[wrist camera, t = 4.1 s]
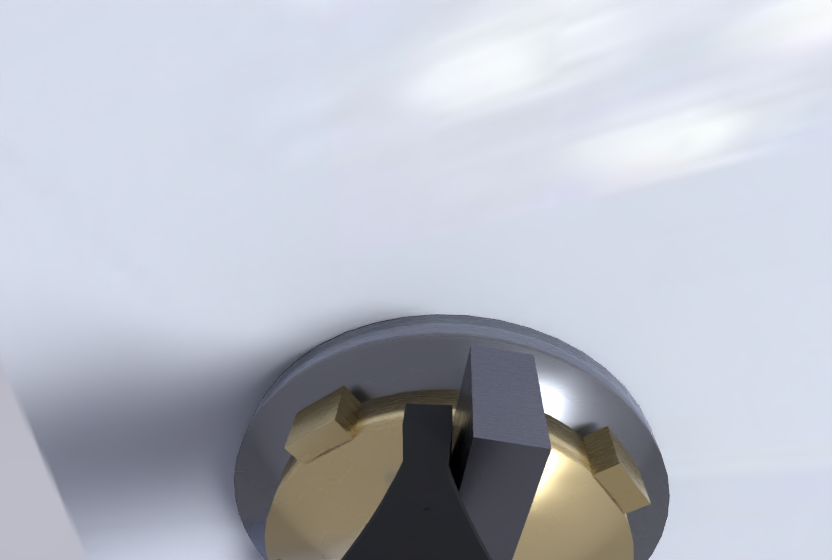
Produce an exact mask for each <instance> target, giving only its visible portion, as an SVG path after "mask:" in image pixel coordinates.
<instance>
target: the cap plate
mask: <svg viewBox="0 0 832 560" xmlns="http://www.w3.org/2000/svg"><path fill="white" fill-rule="evenodd" d="M471 345H475V346H481V347H488V348H494V349H501V350H507V351H514V352H520V353H526V354H533V355H534V359H535V364H536V369H537V374H538V380H539V385H540V390H541V395H542V401H543V406H544V411H545V413H546V414H549V415H551V416H552V417H554V418H556V419H557V420H559V421H561V422H562V423H564V424H566V425H567V426H569V427H570V428H572V429H573V430H574V431H575V432H577V433H578V434H579V435H580V436H582V437H584V436H586V435H588V434H591V433H593V432H595V431H597V430H599V429H602V428H604V427H606V426H608V427H609V429H610V430H611V431H612V432H613V434H614V435H615V436H616V438H617V439H618V440H619V442H620V443H621V444H622V446H623V447H624V448H625V449H626V451H627V452H628V453H629V455H630V456H631V457H632V459H633V460H634V461H635V463H636V464H637V466H638V469H639V472H640V474H641V477H642V480H643V483H644V486H645V489H646V491H647V494H648V497H649V500H650V503H651V504H649V505H647V506H644V507H642V508H639V509H637V510H634V511H632V512H629V513H627V514H626V516H627V519H628V522H629V526H630V530H631V534H632V539H633V550H634V560H648V559H649V558H650V556H651V555H652V554H653V552H654V550H655V548H656V546H657V544H658V542H659V540H660V538H661V536H662V533H663V530H664V526H665V523H666V520H667V516H668V507H669V497H670V495H669V485H668V475H667V472H666V469H665V465H664V462H663V459H662V455H661V453H660V450H659V448H658V445H657V443H656V440H655V438H654V436H653V433H652V431H651V428H650V426H649V424H648V422H647V420H646V418H645V416H644V414H643V412H642V410H641V408H640V407H639V405H638V404H637V402H636V401H635V400H634V398H633V397H632V396H631V394H630V393H629V392H628V390H627V389H626V388H625V387H624V386H623V385H622V384H621V383H620V382H619V381H618V380H617V379H616V378H615V377H614V376H613V375H612V374H611V373H610V372H609V371H608V370H607V369H606V368H604V367H603V366H602V365H600V364H599V363H597V362H596V361H595V360H593V359H592V358H590V357H589V356H588V355H586V354H585V353H583V352H582V351H580V350H578V349H576V348H574V347H572V346H570V345H569V344H567V343H565V342H563V341H561V340H559V339H557V338H554V337H552V336H549V335H547V334H544V333H542V332H539V331H536V330H534V329H531V328H528V327H524V326H520V325H516V324H512V323H509V322H505V321H501V320H495V319H488V318H481V317H474V316H462V315H427V316H414V317H403V318H398V319H393V320H388V321H383V322H378V323H374V324H371V325H367V326H364V327H361V328H358V329H355V330H352V331H349V332H346V333H344V334H342V335H340V336H338V337H335V338H333V339H331V340H329V341H327V342H325V343H323V344H321V345H319V346H318V347H316V348H315V349H313V350H312V351H310V352H308V353H307V354H305V355H304V356H302V357H301V358H299V359H298V360H297V361H296V362H295V363H294V364H292V365H291V366H290V367H289V368H288V369H287V370H286V371H284V372H283V373H282V374H281V375H280V376H279V378H278V379H277V380H276V381H275V382H274V384H273V385H272V386H271V387H270V388H269V390H268V391H267V392H266V394H265V396H264V397H263V399H262V401H261V403H260V404H259V406H258V408H257V410H256V411H255V414H254V416H253V418H252V420H251V423H250V425H249V427H248V429H247V432H246V434H245V436H244V439H243V441H242V444H241V447H240V450H239V453H238V456H237V461H236V468H235V475H234V482H235V497H236V502H237V506H238V511H239V515H240V517H241V519H242V522H243V524H244V527H245V529H246V532H247V533H248V535H249V537H250V538H251V540H252V542H253V543H254V545H255V547H256V548H257V550H258V551H259V552H260V553H261V555H262V556H263V557H264V558H265V560H268V557H267V553H266V547H265V528H266V520H267V517H268V514H269V511H270V508H271V505H272V502H273V499H274V496H275V493H276V490H277V488H278V485H279V482H280V479H281V476H282V473H283V470H284V467H285V465H286V464H287V462H288V460H289V458H290V456H291V455H292V454H290V453H289V452H288V451H287V450H286V449H285V448H284V447H285V445H286V442H287V439H288V436H289V433H290V430H291V428H292V425H293V422H294V419H295V416H296V414H297V412H298V411H300V410H302V409H304V408H305V407H307V406H309V405H311V404H312V403H314V402H316V401H317V400H319V399H321V398H323V397H324V396H326V395H328V394H330V393H331V392H333V391H335V390H336V389H338V388H340V387H342V386H343V385H344V386H345V387H346V388H347V389H348V390H349V391H350V392H351V393H352V394H353V395H354V396H355V397H356V398H357V399H358V400H359V401H360V402H361V403H364V402H367V401H370V400H373V399H376V398H379V397H383V396H388V395H393V394H397V393H402V392H411V391H421V390H460V388H461V384H462V380H463V376H464V371H465V367H466V363H467V358H468V354H469V350H470V346H471Z"/></svg>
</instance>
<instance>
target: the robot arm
mask: <svg viewBox="0 0 832 560" xmlns="http://www.w3.org/2000/svg"><path fill="white" fill-rule="evenodd" d="M452 431H453V413H452V405H435V404H410V403H406V406H405V412H404V418H403V424H402V433H403V462H402V464H401V466H400V468H399V470H398V472H397V474H396V476H395V478H394V479H393V481H392V483H391V485H390V487H389V488H388V490H387V492H386V494H385V496H384V497H383V499H382V501H381V503H380V504H379V506H378V507H377V509H376V511H375V512H374V514H373V515H372V517H371V518H370V520H369V521H368V523H367V524H366V526H365V527H364V529H363V530H362V532H361V533H360V535H359V536H358V537H357V539H356V540H355V541H354V543H353V544H352V545H351V547H350V548H349V549H348V551H347V552H346V553H345V555H344V556H343V557H342V559H341V560H492V558H491V556H490V555H489V553H488V551H487V549H486V547H485V546H484V544H483V542H482V540H481V538H480V536H479V535H478V533H477V531H476V529H475V527H474V525H473V523H472V521H471V519H470V517H469V514H468V512H467V510H466V508H465V506H464V503H463V501H462V499H461V496H460V494H459V492H458V489H457V487H456V484H455V482H454V479H453V476H452V474H451V454H452Z"/></svg>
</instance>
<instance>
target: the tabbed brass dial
mask: <svg viewBox="0 0 832 560" xmlns="http://www.w3.org/2000/svg"><path fill="white" fill-rule="evenodd" d="M406 403H410V404H435V405H452V413H453V431H452V454H451V474H452V476H453V479H454V482H455V484H456V487H457V489H458V492H459V494H460V496H461V499H462V501H463V503H464V506H465V508H466V510H467V512H468V514H469V517H470V519H471V521H472V523H473V525H474V527H475V529H476V531H477V533H478V535H479V536H480V538H481V540H482V542H483V544H484V546H485V547H486V549H487V551H488V553H489V555H490V556H491V558H492V560H634V550H633V539H632V534H631V530H630V526H629V522H628V519H627V516H626V514H627V513H629V512H632V511H634V510H637V509H639V508H642V507H644V506H647V505H649V504H651V503H650V500H649V497H648V494H647V491H646V489H645V486H644V483H643V480H642V477H641V474H640V472H639V469H638V466H637V464H636V463H635V461H634V460H633V459H632V457H631V456H630V455H629V453H628V452H627V451H626V449H625V448H624V447H623V446H622V444H621V443H620V442H619V440H618V439H617V438H616V436H615V435H614V434H613V432H612V431H611V430H610V429H609V427H608V426H606V427H604V428H602V429H599V430H597V431H595V432H593V433H591V434H588V435H586V436H584V437H582V436H580V435H579V434H578V433H577V432H575V431H574V430H573V429H572V428H570V427H569V426H567V425H566V424H564V423H562V422H561V421H559V420H557V419H556V418H554V417H552V416H551V415H549V414H546V413H545V411H544V406H543V401H542V395H541V390H540V385H539V380H538V374H537V369H536V364H535V359H534V355H533V354H526V353H520V352H514V351H507V350H501V349H494V348H488V347H481V346H475V345H471V346H470V350H469V354H468V358H467V363H466V367H465V371H464V376H463V380H462V384H461V388H460V390H421V391H411V392H402V393H397V394H393V395H388V396H383V397H379V398H376V399H373V400H370V401H367V402H364V403H361V402H360V401H359V400H358V399H357V398H356V397H355V396H354V395H353V394H352V393H351V392H350V391H349V390H348V389H347V388H346V387H345V386H344V385H343V386H342V387H340V388H338V389H336V390H335V391H333V392H331V393H330V394H328V395H326V396H324V397H323V398H321V399H319V400H317V401H316V402H314V403H312V404H311V405H309V406H307V407H305V408H304V409H302V410H300V411H298V412H297V414H296V416H295V419H294V422H293V425H292V428H291V430H290V433H289V436H288V439H287V442H286V445H285V447H284V448H285V449H286V450H287V451H288V452H289V453H290V454H292V455H291V456H290V458H289V460H288V462H287V464H286V465H285V467H284V470H283V473H282V476H281V479H280V482H279V485H278V488H277V490H276V493H275V496H274V499H273V502H272V505H271V508H270V511H269V514H268V517H267V520H266V528H265V547H266V553H267V557H268V560H341V559H342V557H343V556H344V555H345V553H346V552H347V551H348V549H349V548H350V547H351V545H352V544H353V543H354V541H355V540H356V539H357V537H358V536H359V535H360V533H361V532H362V530H363V529H364V527H365V526H366V524H367V523H368V521H369V520H370V518H371V517H372V515H373V514H374V512H375V511H376V509H377V507H378V506H379V504H380V503H381V501H382V499H383V497H384V496H385V494H386V492H387V490H388V488H389V487H390V485H391V483H392V481H393V479H394V478H395V476H396V474H397V472H398V470H399V468H400V466H401V464H402V462H403V433H402V424H403V418H404V412H405V406H406Z"/></svg>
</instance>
